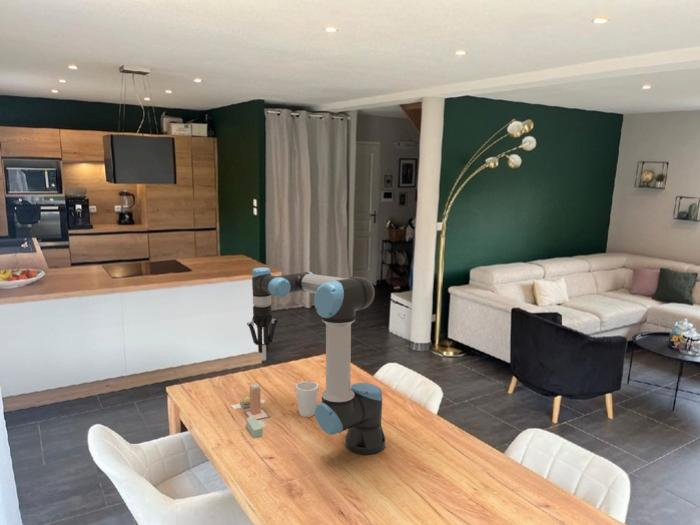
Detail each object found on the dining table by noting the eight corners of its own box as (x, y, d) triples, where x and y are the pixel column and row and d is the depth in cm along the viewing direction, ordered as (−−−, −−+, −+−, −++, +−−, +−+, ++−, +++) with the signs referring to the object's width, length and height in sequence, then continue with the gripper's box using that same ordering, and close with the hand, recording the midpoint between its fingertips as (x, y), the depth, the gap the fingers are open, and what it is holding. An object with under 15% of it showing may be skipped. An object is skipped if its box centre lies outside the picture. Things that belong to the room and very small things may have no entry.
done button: (252, 402, 222) (252, 398, 221) (244, 404, 220) (244, 400, 220) (250, 399, 225) (249, 395, 225) (241, 401, 223) (241, 396, 223)
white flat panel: (286, 428, 206) (286, 424, 205) (252, 437, 199) (252, 432, 199) (262, 400, 230) (262, 396, 229) (231, 407, 223) (231, 402, 223)
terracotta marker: (260, 413, 216) (260, 385, 214) (252, 414, 215) (252, 387, 212) (257, 409, 219) (257, 382, 217) (250, 411, 217) (249, 384, 215)
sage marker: (262, 436, 198) (262, 428, 198) (254, 438, 197) (254, 430, 196) (253, 423, 207) (253, 415, 206) (245, 425, 205) (245, 417, 205)
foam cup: (307, 422, 211) (307, 392, 209) (290, 415, 217) (290, 386, 214) (322, 414, 219) (322, 385, 216) (306, 407, 224) (306, 379, 222)
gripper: (273, 301, 221) (274, 354, 225) (243, 304, 215) (245, 359, 219) (280, 305, 215) (281, 359, 219) (250, 308, 208) (251, 365, 212)
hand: (263, 359), depth 219 cm, fingers closed
